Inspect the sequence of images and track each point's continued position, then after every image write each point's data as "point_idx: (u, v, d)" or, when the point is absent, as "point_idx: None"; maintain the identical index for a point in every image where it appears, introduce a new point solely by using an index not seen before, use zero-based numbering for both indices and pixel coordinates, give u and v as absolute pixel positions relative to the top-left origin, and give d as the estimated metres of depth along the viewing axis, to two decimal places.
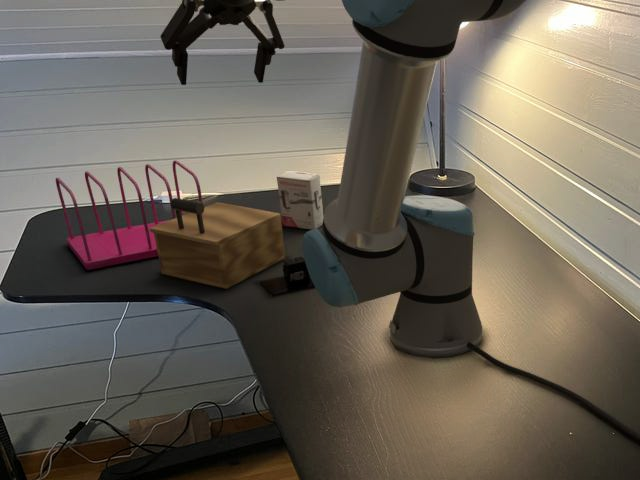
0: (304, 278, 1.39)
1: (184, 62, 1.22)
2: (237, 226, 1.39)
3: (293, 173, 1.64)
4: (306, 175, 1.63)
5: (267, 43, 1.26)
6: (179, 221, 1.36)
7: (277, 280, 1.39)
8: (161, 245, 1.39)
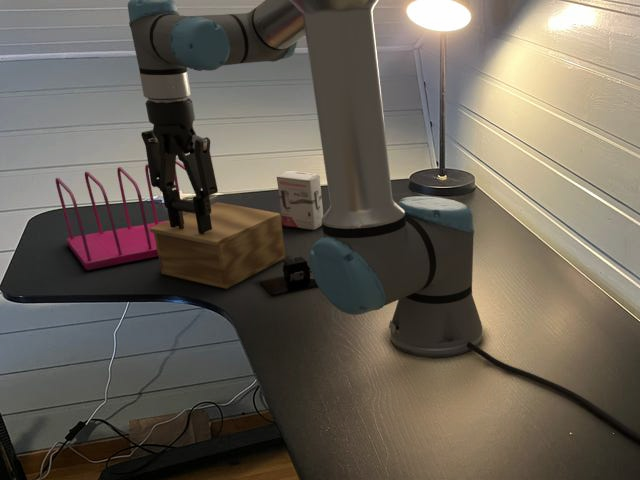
0: (304, 278, 1.39)
1: (166, 202, 1.34)
2: (237, 226, 1.39)
3: (293, 173, 1.64)
4: (306, 175, 1.63)
5: (196, 186, 1.29)
6: (179, 221, 1.36)
7: (277, 280, 1.39)
8: (161, 245, 1.39)
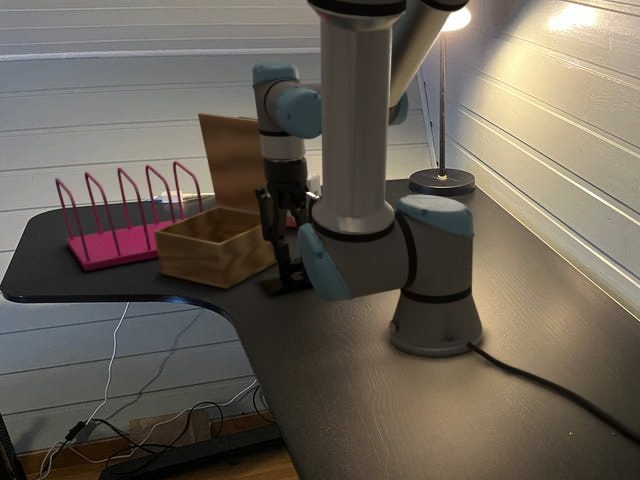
0: None
1: (278, 255, 1.37)
2: None
3: None
4: None
5: None
6: None
7: (277, 280, 1.39)
8: (161, 245, 1.39)
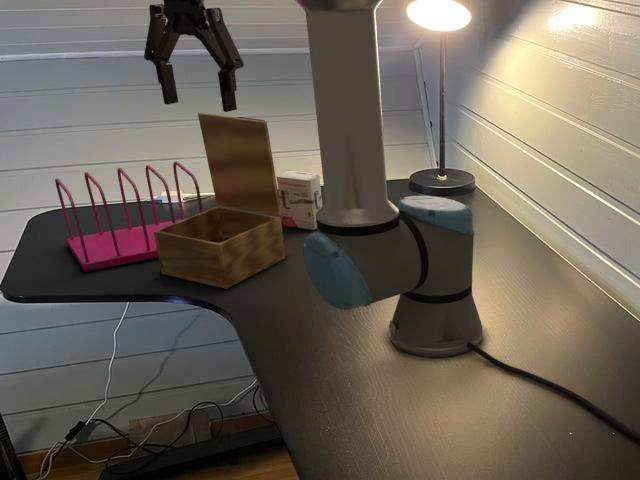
0: None
1: (160, 76, 1.31)
2: None
3: (293, 173, 1.64)
4: (306, 175, 1.63)
5: (219, 60, 1.24)
6: None
7: None
8: (161, 245, 1.39)
